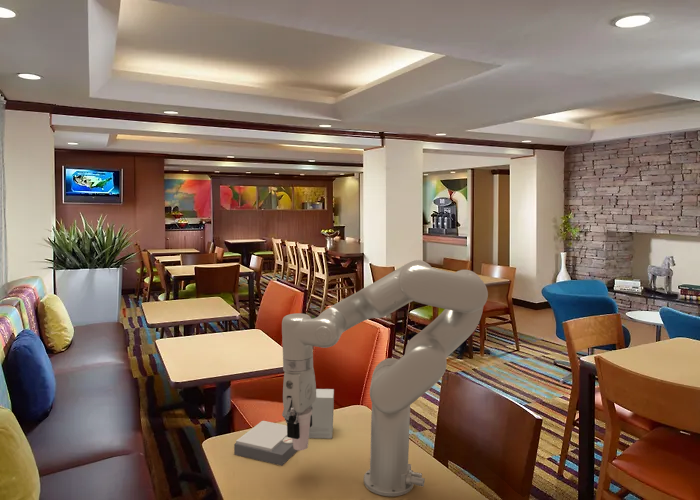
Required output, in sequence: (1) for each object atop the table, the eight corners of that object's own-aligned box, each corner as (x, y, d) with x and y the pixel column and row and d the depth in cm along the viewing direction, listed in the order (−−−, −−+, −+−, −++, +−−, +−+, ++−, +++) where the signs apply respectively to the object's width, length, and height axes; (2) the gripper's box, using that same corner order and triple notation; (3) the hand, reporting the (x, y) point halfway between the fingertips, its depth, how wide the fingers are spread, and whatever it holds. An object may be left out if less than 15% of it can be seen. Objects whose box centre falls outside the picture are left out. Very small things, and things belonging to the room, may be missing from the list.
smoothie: (309, 454, 126) (307, 399, 125) (284, 451, 127) (282, 398, 126) (315, 441, 132) (314, 390, 131) (292, 440, 134) (290, 388, 132)
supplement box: (332, 439, 151) (333, 398, 150) (307, 438, 151) (308, 397, 150) (333, 427, 158) (334, 388, 157) (309, 427, 158) (310, 388, 157)
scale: (307, 441, 149) (307, 428, 149) (282, 465, 135) (282, 452, 135) (262, 431, 154) (262, 419, 154) (234, 454, 141) (234, 441, 140)
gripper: (295, 376, 118) (297, 449, 120) (325, 354, 134) (327, 420, 136) (267, 372, 121) (269, 444, 123) (300, 352, 137) (302, 416, 139)
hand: (300, 431), depth 130 cm, fingers closed on smoothie, 6 cm apart
